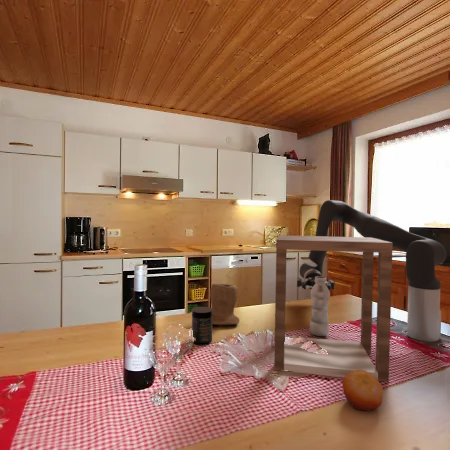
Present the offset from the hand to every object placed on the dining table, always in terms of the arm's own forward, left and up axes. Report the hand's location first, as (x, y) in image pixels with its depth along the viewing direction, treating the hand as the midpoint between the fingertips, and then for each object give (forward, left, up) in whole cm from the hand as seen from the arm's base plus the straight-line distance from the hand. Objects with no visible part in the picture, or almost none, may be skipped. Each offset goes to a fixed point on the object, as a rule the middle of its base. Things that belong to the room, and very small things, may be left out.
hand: (316, 287), depth 122 cm
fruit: (+22, +48, -14) cm, 54 cm away
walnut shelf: (+15, +26, -14) cm, 33 cm away
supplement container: (+46, +4, -14) cm, 48 cm away
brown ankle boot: (+35, -12, -14) cm, 39 cm away
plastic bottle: (+6, +10, -14) cm, 18 cm away
